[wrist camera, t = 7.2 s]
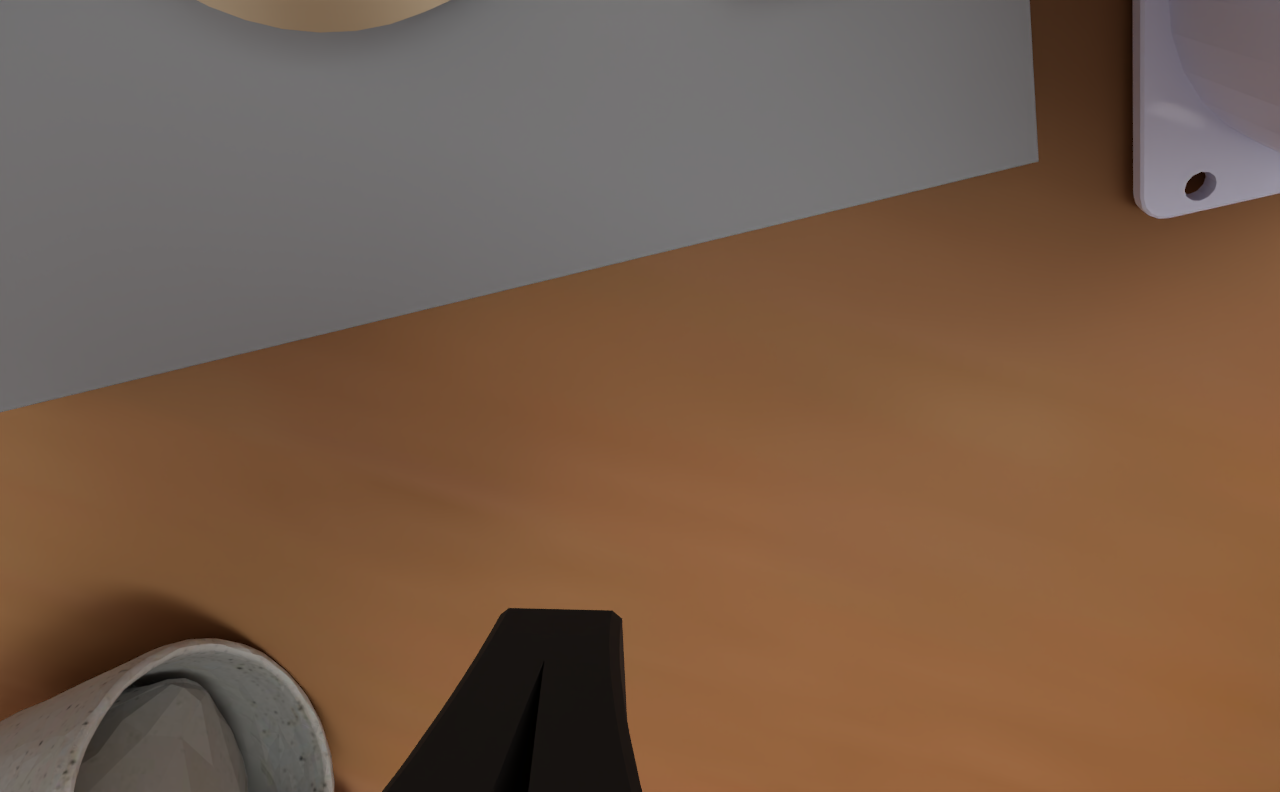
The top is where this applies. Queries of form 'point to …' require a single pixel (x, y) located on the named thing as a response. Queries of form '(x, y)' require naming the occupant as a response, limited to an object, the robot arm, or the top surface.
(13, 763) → the ceramic mug
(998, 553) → the top surface
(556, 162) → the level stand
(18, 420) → the top surface
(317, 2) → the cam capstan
